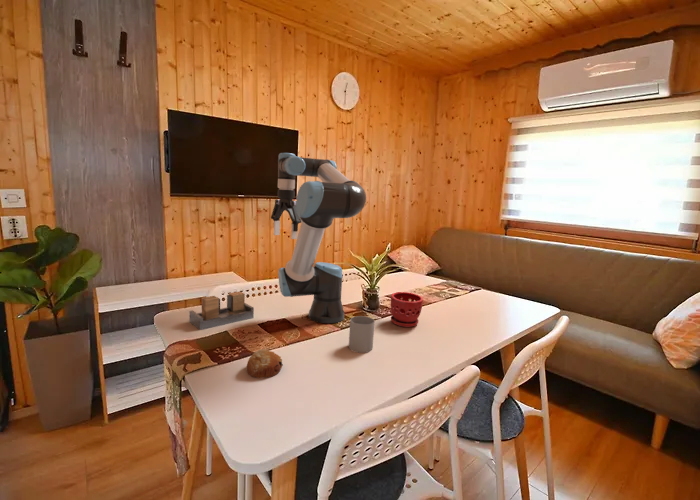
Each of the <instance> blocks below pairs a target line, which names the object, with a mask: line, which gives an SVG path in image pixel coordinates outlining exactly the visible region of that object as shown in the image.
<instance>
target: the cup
mask: <svg viewBox="0 0 700 500" xmlns="http://www.w3.org/2000/svg"><path fill="white" fill-rule="evenodd" d="M375 324H376V323H375V320H374V318H372V317H370V316H366V315H365V316H364V315H357V316H352V317H351V318H350V319H349V334H348V335H349V337H348V348H349V350H350V351H352V352H355V353H362V354H365V353H369V352H372V350H373V349H374V335H375Z"/></svg>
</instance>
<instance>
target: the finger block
mask: <svg viewBox="0 0 700 500" xmlns="http://www.w3.org/2000/svg"><path fill="white" fill-rule="evenodd" d="M200 298H201V312H202V317H203V319H204V320H208V319H213V318H217V317H219V314H220V309H221V298H219V297H218V296H215V295H211V296H206V297H205V296H204V297H200Z"/></svg>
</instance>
